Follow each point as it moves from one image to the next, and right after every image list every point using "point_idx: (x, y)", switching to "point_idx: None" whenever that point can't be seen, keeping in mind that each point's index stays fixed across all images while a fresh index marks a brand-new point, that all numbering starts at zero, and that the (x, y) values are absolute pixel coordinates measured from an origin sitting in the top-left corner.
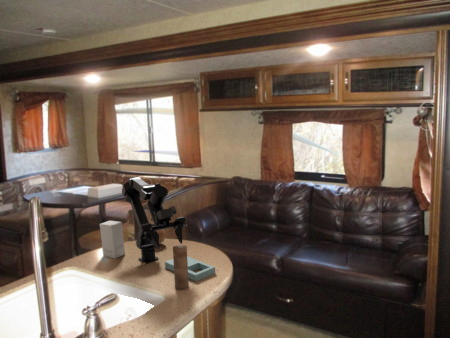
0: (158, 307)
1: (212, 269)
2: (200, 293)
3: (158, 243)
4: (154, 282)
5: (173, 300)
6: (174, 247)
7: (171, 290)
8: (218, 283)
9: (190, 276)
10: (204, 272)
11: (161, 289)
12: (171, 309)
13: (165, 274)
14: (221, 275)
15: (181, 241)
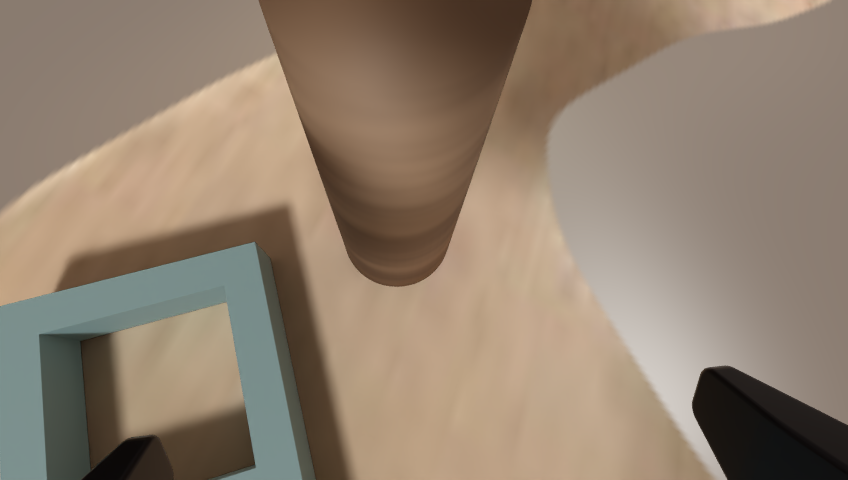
0: (610, 69)
1: (42, 301)
2: None
3: (799, 427)
4: (571, 432)
5: (511, 94)
6: (493, 6)
7: (483, 221)
8: (145, 143)
9: (277, 314)
10: (146, 273)
11: (545, 274)
12: (548, 17)
13: None
14: (32, 250)
15: (135, 448)
